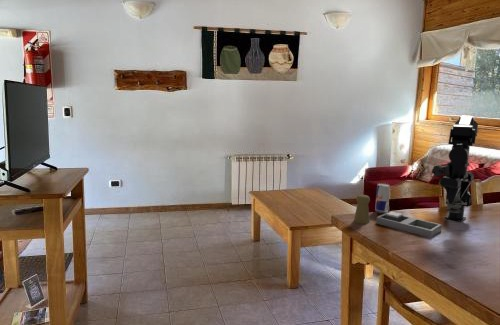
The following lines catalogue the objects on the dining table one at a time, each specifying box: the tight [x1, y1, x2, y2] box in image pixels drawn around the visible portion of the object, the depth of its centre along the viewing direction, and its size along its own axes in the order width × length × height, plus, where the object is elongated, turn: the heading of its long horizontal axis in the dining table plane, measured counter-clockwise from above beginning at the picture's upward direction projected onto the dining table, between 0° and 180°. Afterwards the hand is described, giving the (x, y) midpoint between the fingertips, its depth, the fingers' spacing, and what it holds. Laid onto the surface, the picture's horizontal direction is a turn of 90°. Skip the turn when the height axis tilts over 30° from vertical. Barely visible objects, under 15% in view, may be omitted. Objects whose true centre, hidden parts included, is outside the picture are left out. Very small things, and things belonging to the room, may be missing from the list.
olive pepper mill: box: [353, 194, 371, 225], centre depth 165 cm, size 6×6×11 cm
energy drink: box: [374, 183, 391, 214], centre depth 179 cm, size 5×5×12 cm
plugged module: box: [385, 211, 404, 222], centre depth 163 cm, size 5×5×4 cm
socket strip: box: [375, 211, 443, 238], centre depth 160 cm, size 10×21×3 cm, turn 46°
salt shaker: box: [445, 185, 463, 213], centre depth 152 cm, size 6×6×12 cm
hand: (454, 201), depth 152 cm, fingers closed on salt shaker, 8 cm apart
